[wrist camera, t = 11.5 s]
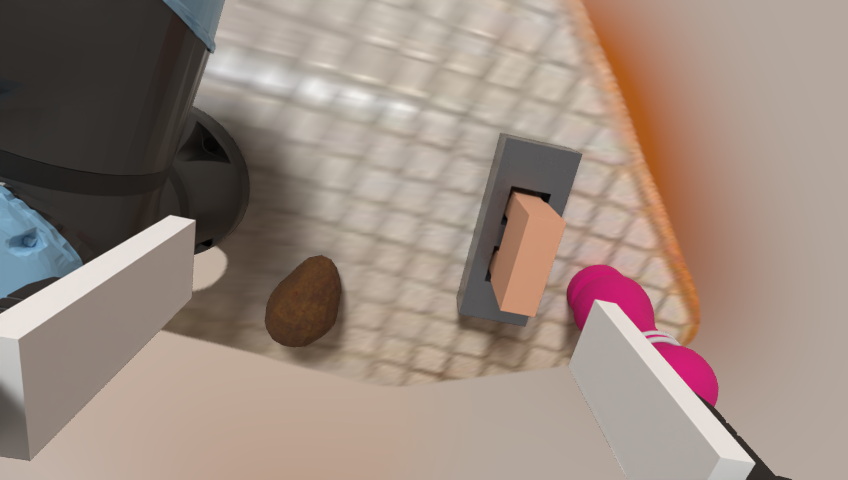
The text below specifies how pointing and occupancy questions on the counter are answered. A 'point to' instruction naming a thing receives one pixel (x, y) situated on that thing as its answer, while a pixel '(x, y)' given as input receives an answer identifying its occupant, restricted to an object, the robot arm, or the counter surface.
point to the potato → (304, 303)
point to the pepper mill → (639, 323)
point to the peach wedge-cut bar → (525, 252)
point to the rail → (512, 167)
